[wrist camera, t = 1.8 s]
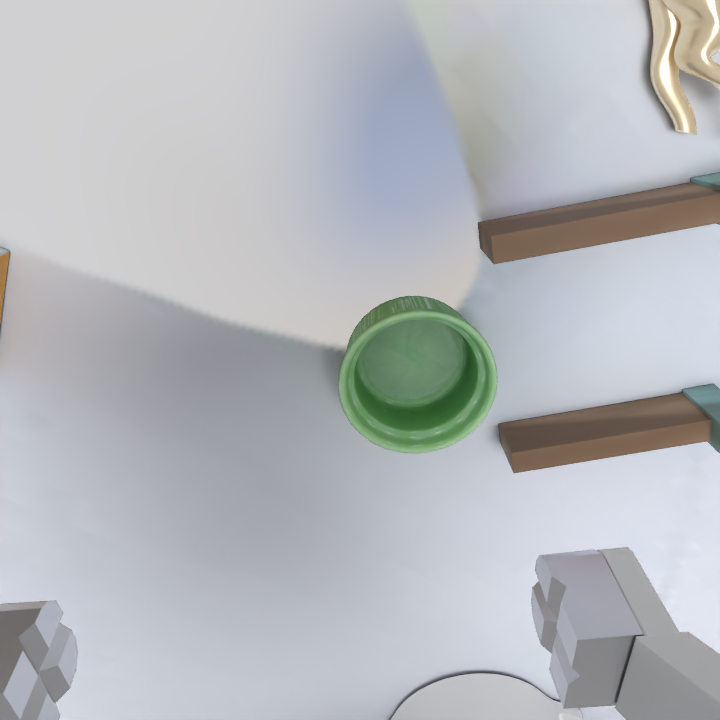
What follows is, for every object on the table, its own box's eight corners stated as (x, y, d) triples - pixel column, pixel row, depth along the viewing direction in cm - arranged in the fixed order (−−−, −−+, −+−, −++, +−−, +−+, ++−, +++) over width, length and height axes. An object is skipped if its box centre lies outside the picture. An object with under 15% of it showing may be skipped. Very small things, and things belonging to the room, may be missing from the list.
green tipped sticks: (711, 410, 40) (753, 447, 36) (500, 446, 41) (518, 486, 37) (727, 171, 34) (780, 182, 30) (477, 218, 35) (495, 236, 30)
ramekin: (310, 368, 38) (306, 401, 34) (399, 256, 36) (406, 278, 32) (419, 440, 41) (427, 479, 37) (511, 341, 38) (531, 371, 34)
